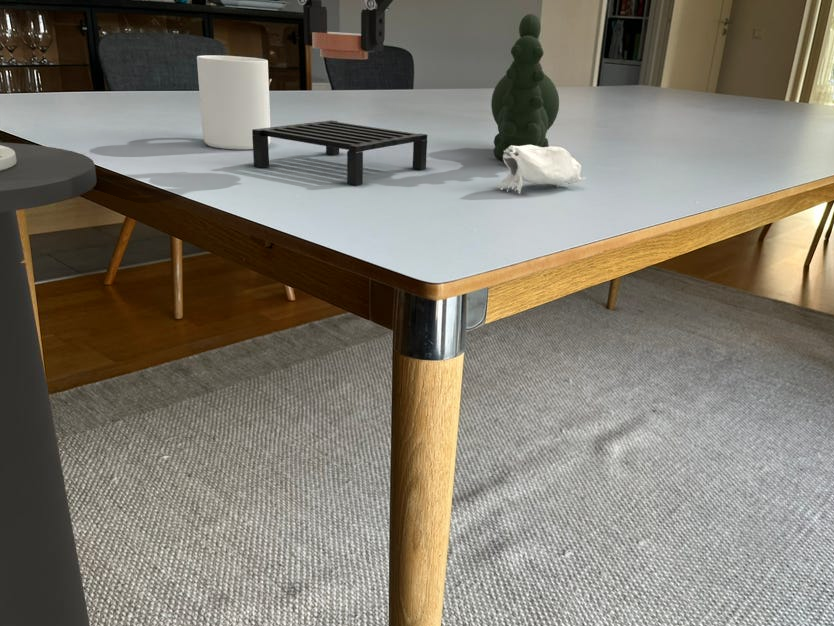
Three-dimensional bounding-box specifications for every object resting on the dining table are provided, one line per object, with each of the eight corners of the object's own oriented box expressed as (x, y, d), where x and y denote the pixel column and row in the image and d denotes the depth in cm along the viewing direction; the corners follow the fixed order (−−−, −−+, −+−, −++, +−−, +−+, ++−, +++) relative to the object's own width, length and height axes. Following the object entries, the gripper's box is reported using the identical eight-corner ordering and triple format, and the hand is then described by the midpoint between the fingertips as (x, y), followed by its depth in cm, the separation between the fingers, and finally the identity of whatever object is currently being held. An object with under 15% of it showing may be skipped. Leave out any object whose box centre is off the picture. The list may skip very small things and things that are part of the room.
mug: (181, 136, 100) (174, 52, 96) (241, 134, 105) (237, 54, 101) (219, 151, 92) (213, 60, 88) (282, 148, 97) (279, 61, 93)
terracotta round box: (350, 60, 79) (350, 35, 78) (298, 55, 82) (298, 30, 81) (387, 59, 85) (387, 36, 84) (338, 54, 88) (337, 31, 87)
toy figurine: (553, 187, 95) (553, 141, 116) (572, 21, 85) (568, 4, 107) (478, 181, 95) (492, 136, 117) (488, 15, 86) (501, -1, 108)
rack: (356, 185, 80) (356, 146, 78) (253, 166, 85) (251, 129, 84) (426, 168, 91) (427, 134, 90) (331, 152, 97) (331, 120, 95)
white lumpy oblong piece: (538, 210, 81) (592, 178, 87) (524, 146, 78) (581, 118, 84) (503, 210, 84) (558, 179, 90) (489, 148, 81) (546, 121, 87)
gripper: (248, -151, 76) (258, 42, 84) (394, -156, 69) (391, 55, 77) (298, -137, 82) (303, 42, 90) (436, -140, 75) (430, 54, 83)
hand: (343, 46), depth 83 cm, fingers closed on terracotta round box, 6 cm apart
